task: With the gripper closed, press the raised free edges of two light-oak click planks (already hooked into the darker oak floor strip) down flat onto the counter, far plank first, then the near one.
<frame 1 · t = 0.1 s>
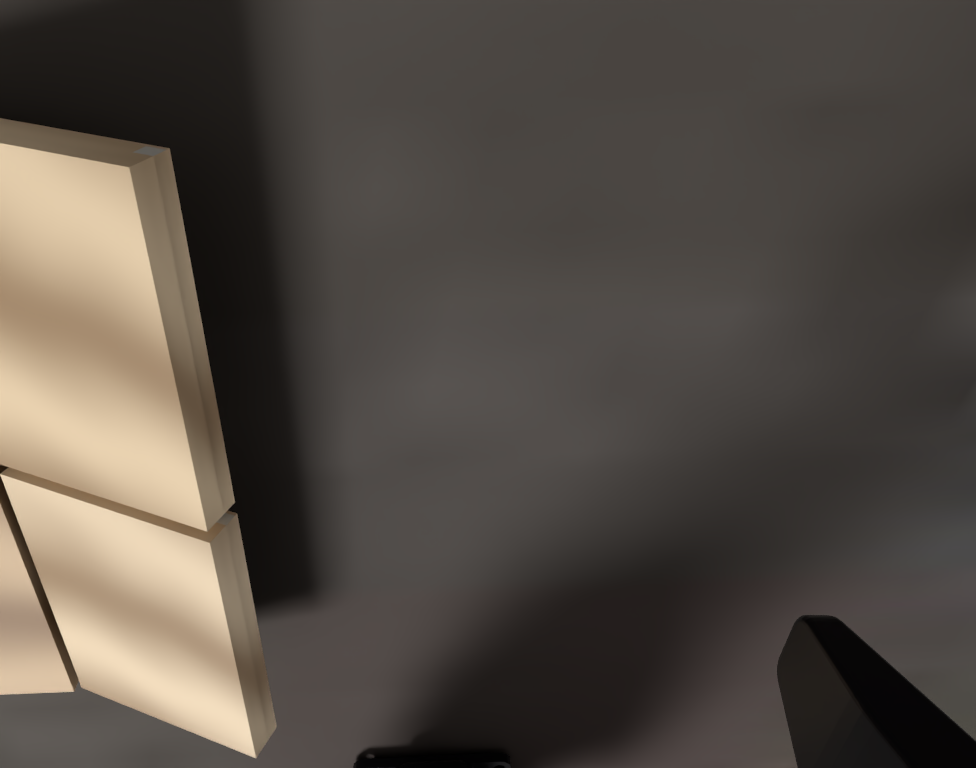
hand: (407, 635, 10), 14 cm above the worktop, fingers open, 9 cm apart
plank a: (149, 611, 26), point 2 cm above the worktop, hinge at 25.0°
plank b: (69, 330, 21), point 2 cm above the worktop, hinge at 25.0°
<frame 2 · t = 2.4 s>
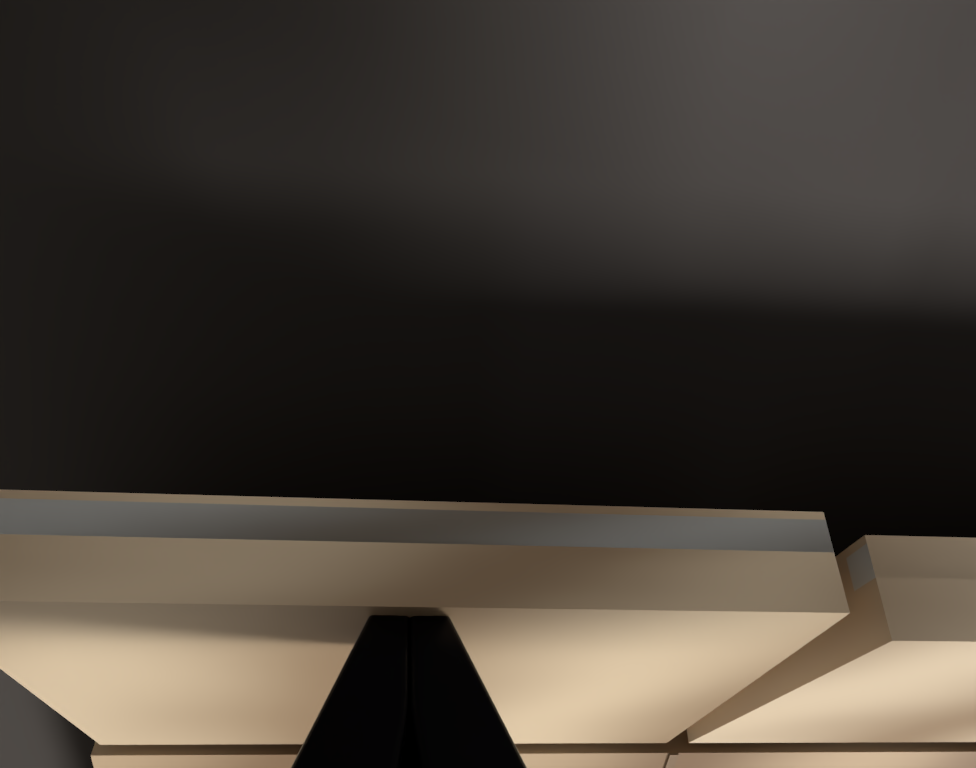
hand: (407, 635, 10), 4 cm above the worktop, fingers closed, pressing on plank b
plank b: (400, 648, 12), point 2 cm above the worktop, hinge at 22.5°, touching gripper
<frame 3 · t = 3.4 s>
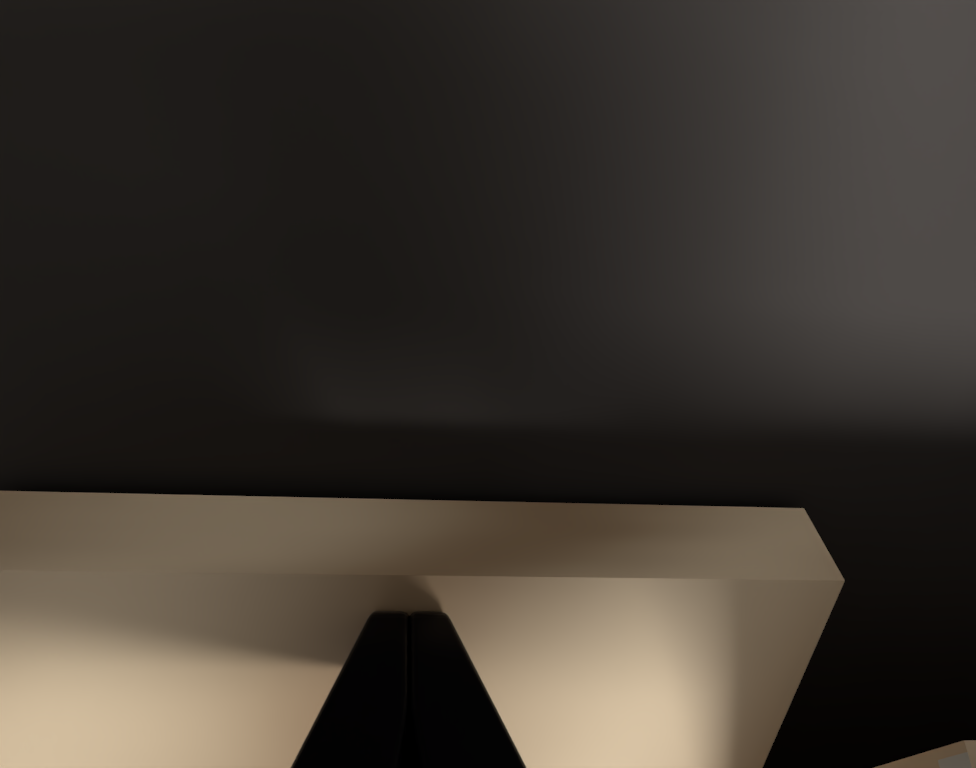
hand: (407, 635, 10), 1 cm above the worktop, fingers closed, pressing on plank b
plank b: (399, 730, 11), point 1 cm above the worktop, hinge at 0.0°, touching gripper
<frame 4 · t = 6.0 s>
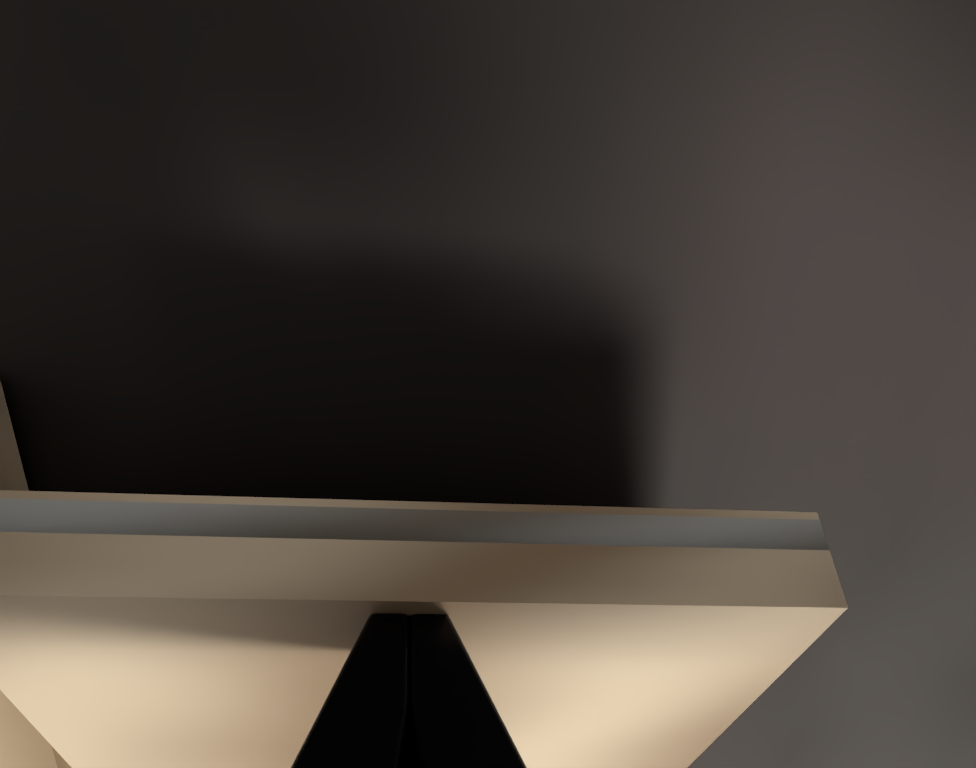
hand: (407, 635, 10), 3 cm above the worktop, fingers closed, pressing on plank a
plank a: (398, 670, 12), point 2 cm above the worktop, hinge at 17.2°, touching gripper
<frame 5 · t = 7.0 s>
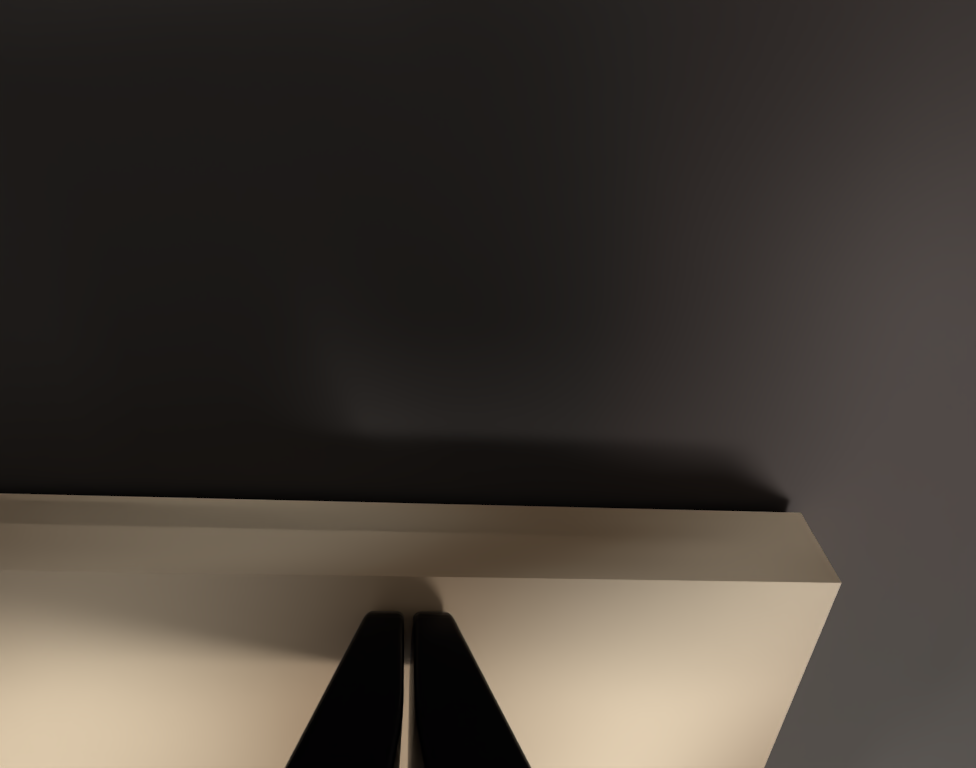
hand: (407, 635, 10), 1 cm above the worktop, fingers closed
plank a: (400, 736, 11), point 1 cm above the worktop, hinge at -0.9°, touching gripper
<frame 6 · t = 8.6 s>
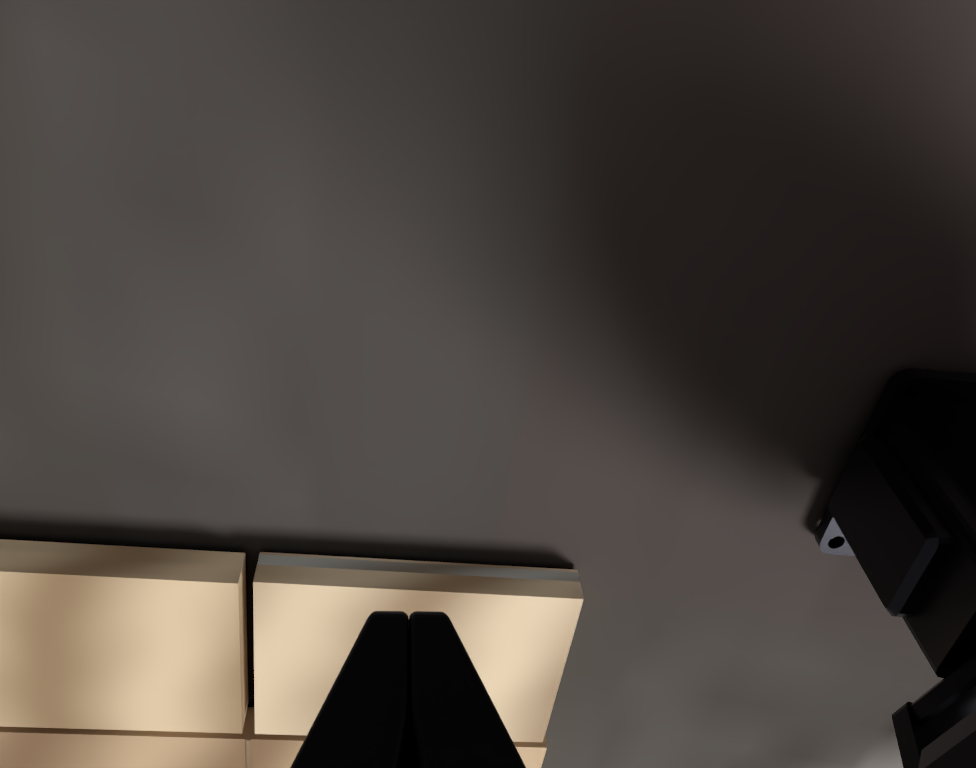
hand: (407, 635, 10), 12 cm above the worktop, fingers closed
plank a: (411, 654, 27), point 1 cm above the worktop, hinge at -0.9°
plank b: (80, 641, 26), point 1 cm above the worktop, hinge at -0.1°
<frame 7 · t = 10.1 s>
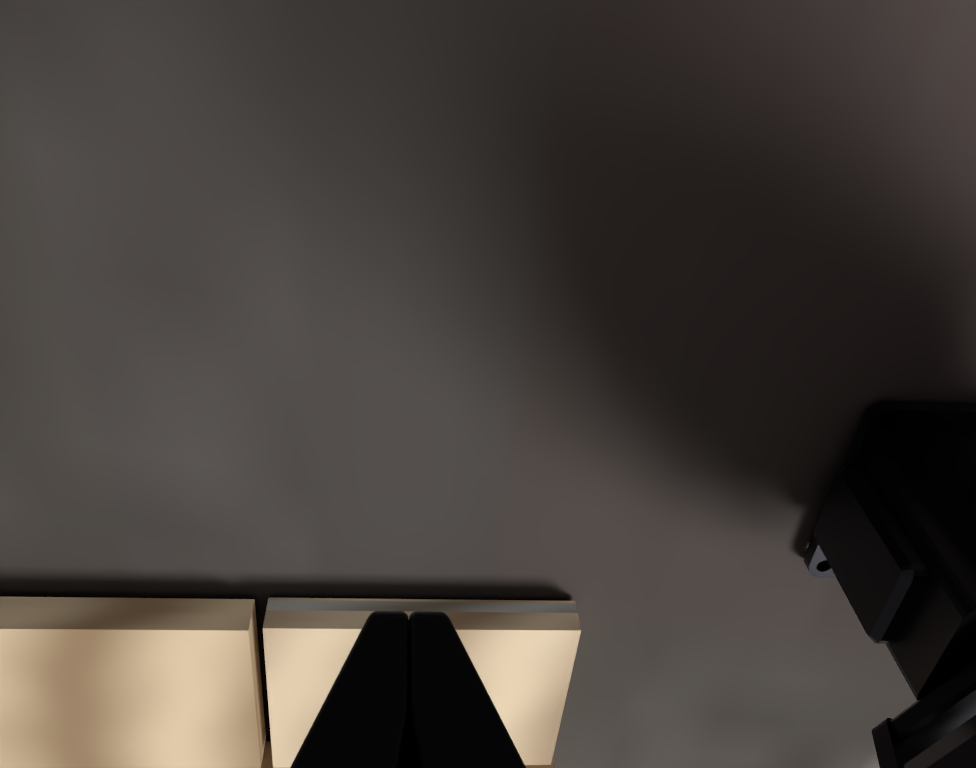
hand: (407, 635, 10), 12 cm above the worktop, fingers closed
plank a: (419, 686, 28), point 1 cm above the worktop, hinge at -0.9°
plank b: (102, 688, 27), point 1 cm above the worktop, hinge at -0.1°
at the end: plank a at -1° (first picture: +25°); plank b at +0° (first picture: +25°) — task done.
